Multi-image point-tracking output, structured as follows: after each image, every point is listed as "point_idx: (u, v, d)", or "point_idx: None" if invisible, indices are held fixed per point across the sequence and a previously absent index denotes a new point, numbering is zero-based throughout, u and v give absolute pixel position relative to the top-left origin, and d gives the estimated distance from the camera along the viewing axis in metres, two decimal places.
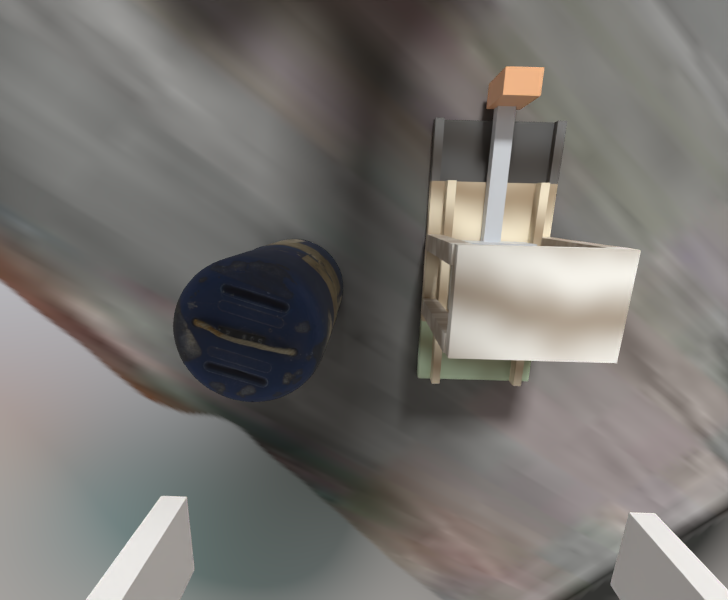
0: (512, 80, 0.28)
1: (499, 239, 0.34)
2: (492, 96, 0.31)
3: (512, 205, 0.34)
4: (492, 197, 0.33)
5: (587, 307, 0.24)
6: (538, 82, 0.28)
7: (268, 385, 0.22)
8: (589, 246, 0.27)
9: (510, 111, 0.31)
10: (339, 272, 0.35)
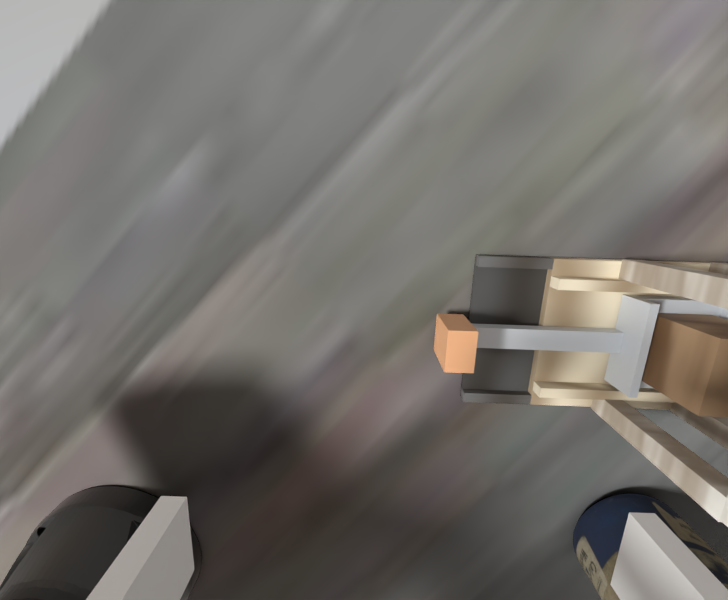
0: (459, 364, 0.24)
1: (620, 334, 0.26)
2: None
3: (572, 312, 0.27)
4: (566, 346, 0.27)
5: None
6: (463, 335, 0.23)
7: None
8: None
9: None
10: (627, 508, 0.30)
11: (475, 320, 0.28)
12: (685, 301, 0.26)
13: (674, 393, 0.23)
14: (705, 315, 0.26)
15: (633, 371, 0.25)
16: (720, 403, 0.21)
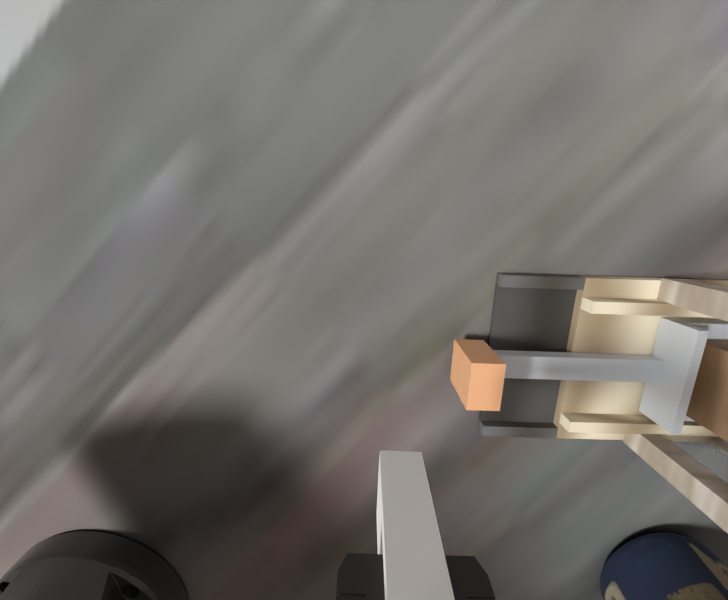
0: (484, 400, 0.21)
1: (660, 362, 0.24)
2: None
3: (605, 337, 0.24)
4: (600, 376, 0.24)
5: None
6: (489, 368, 0.20)
7: None
8: None
9: None
10: (662, 551, 0.27)
11: (496, 345, 0.25)
12: None
13: (727, 433, 0.21)
14: None
15: (676, 405, 0.23)
16: None
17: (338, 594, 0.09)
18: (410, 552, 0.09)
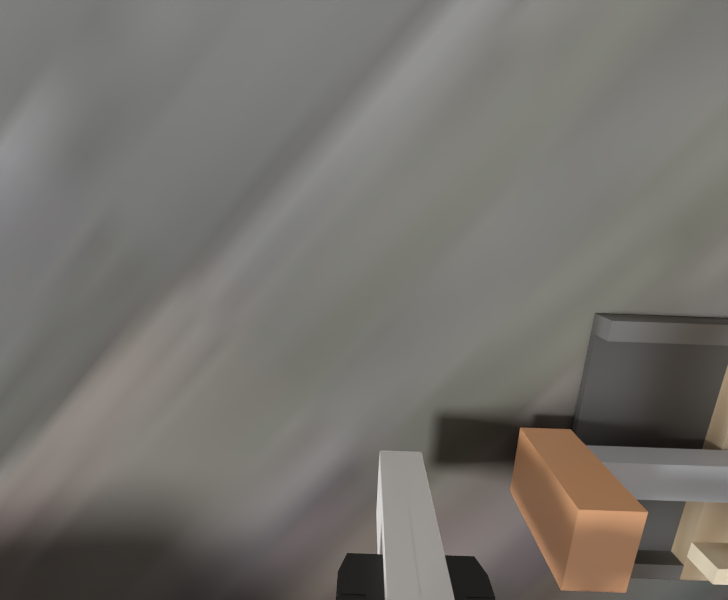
0: (597, 575, 0.11)
1: None
2: None
3: None
4: None
5: None
6: (612, 519, 0.10)
7: None
8: None
9: None
10: None
11: (586, 433, 0.15)
12: None
13: None
14: None
15: None
16: None
17: (338, 594, 0.09)
18: (410, 552, 0.09)
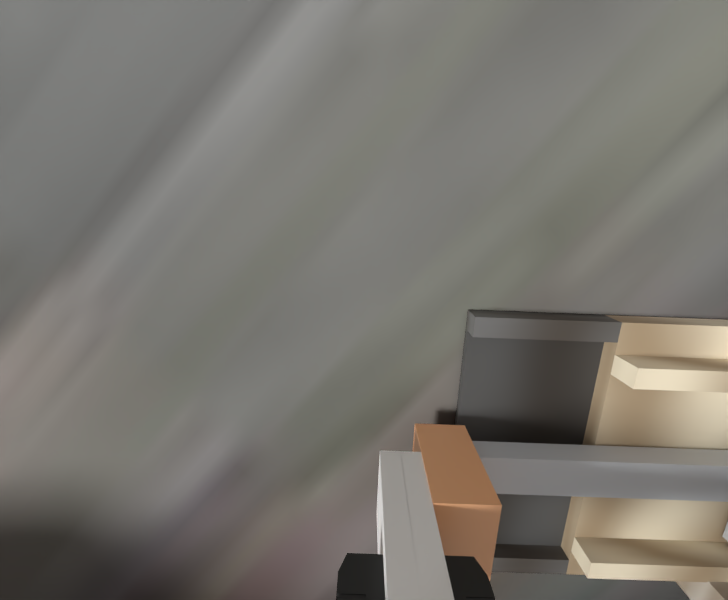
0: None
1: None
2: None
3: (652, 421, 0.14)
4: (666, 492, 0.14)
5: None
6: (468, 512, 0.10)
7: None
8: None
9: None
10: None
11: (467, 429, 0.15)
12: None
13: None
14: None
15: None
16: None
17: (338, 594, 0.09)
18: (410, 552, 0.09)
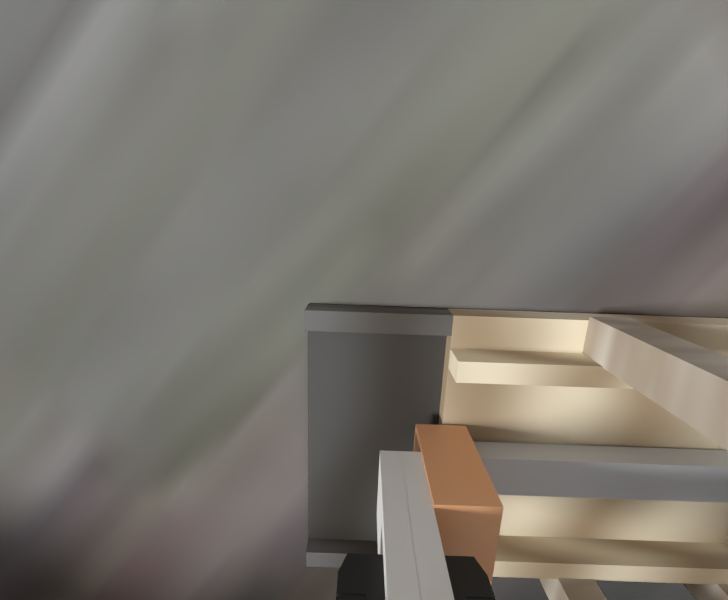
0: None
1: None
2: None
3: (496, 415, 0.14)
4: (670, 493, 0.14)
5: None
6: (469, 514, 0.10)
7: None
8: None
9: None
10: None
11: (319, 424, 0.15)
12: None
13: None
14: None
15: None
16: None
17: (338, 594, 0.09)
18: (410, 552, 0.09)
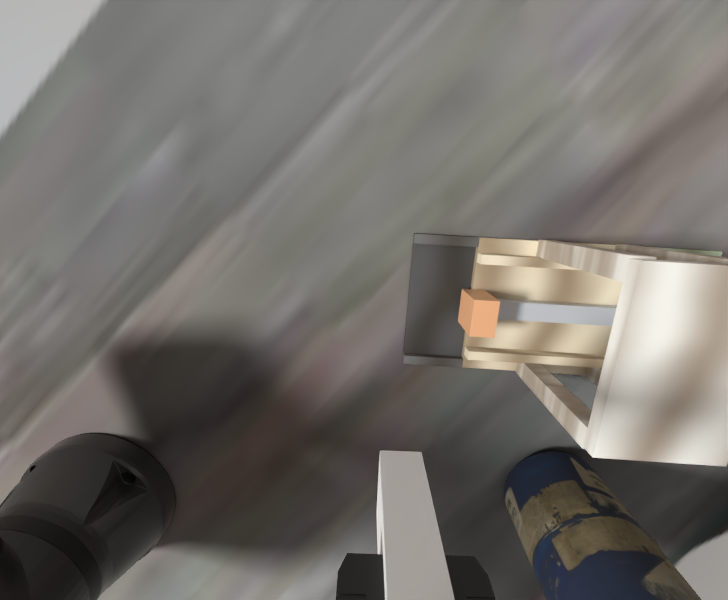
0: (483, 329, 0.28)
1: None
2: None
3: (497, 285, 0.31)
4: (574, 320, 0.31)
5: (702, 317, 0.19)
6: (487, 304, 0.27)
7: None
8: (599, 275, 0.22)
9: None
10: (547, 461, 0.34)
11: (414, 291, 0.32)
12: None
13: None
14: None
15: None
16: None
17: (338, 594, 0.09)
18: (410, 552, 0.09)
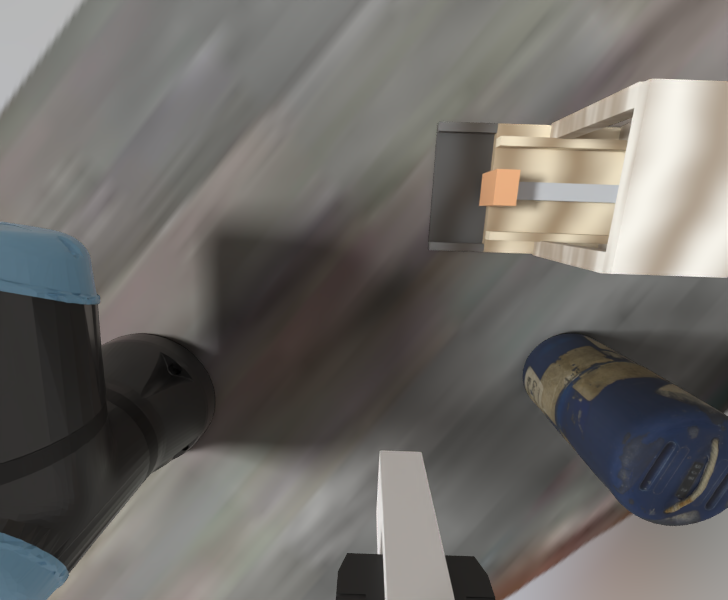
0: (505, 198, 0.31)
1: None
2: None
3: None
4: (586, 197, 0.34)
5: (703, 131, 0.22)
6: (509, 172, 0.30)
7: None
8: (612, 117, 0.25)
9: None
10: (563, 339, 0.37)
11: (438, 180, 0.35)
12: None
13: None
14: None
15: None
16: None
17: (338, 594, 0.09)
18: (410, 552, 0.09)
